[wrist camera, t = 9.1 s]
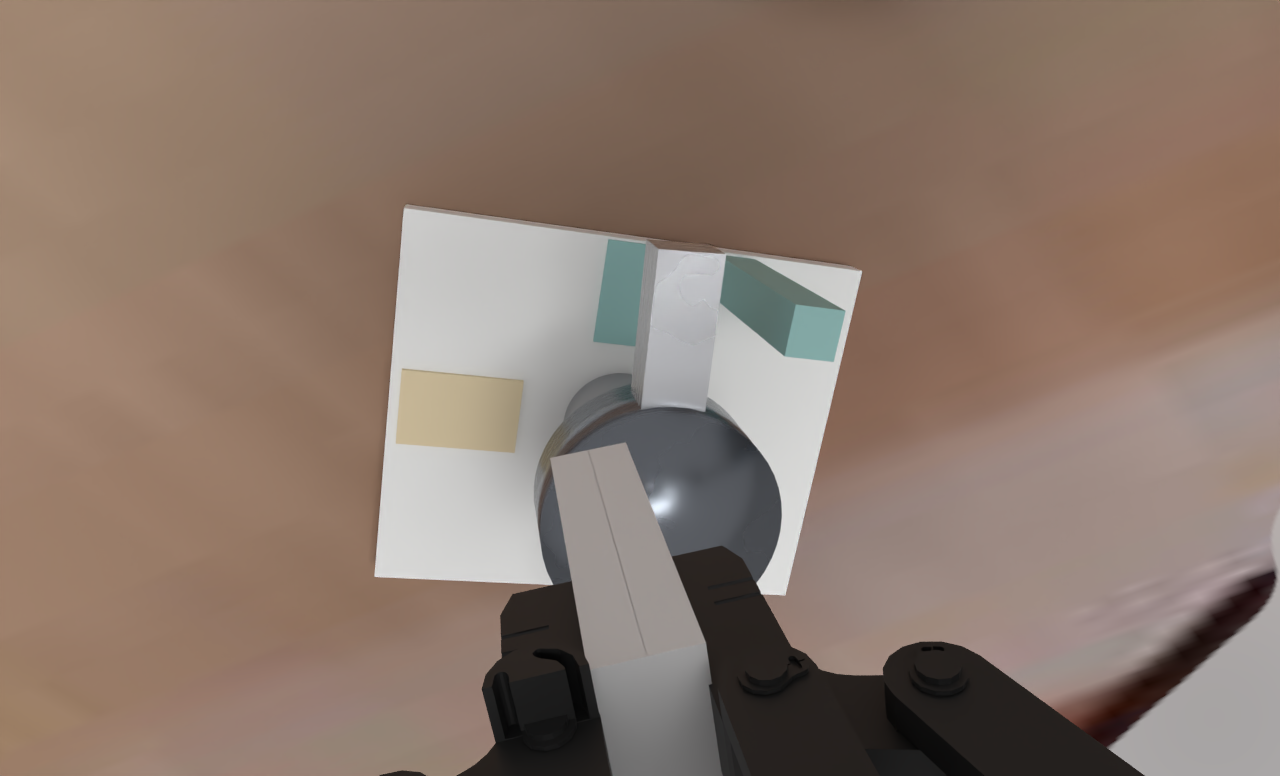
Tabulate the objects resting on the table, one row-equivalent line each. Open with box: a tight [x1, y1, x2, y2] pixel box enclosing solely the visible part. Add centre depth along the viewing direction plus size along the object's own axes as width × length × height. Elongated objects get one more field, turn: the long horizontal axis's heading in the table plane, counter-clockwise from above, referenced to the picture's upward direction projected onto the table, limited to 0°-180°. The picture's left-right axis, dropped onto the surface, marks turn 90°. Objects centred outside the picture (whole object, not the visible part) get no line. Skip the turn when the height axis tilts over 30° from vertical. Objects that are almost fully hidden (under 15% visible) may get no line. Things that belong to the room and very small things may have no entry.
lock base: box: [375, 204, 862, 595], centre depth 31 cm, size 18×15×10 cm
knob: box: [534, 239, 782, 585], centre depth 28 cm, size 15×8×3 cm, turn 174°
